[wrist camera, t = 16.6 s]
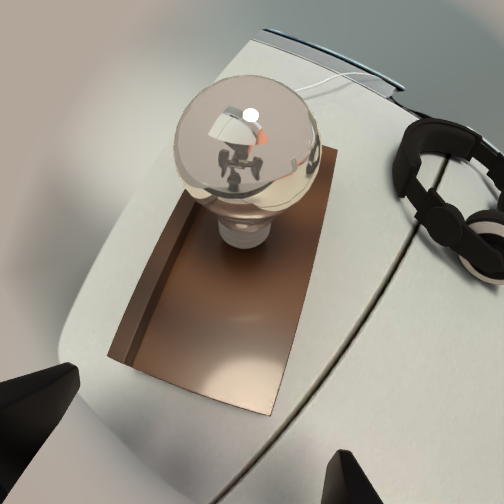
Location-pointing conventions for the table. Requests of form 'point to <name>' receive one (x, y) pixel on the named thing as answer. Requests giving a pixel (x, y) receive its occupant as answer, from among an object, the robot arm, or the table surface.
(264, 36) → the table surface
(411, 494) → the table surface
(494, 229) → the headphones
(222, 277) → the brown wooden tray
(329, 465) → the robot arm
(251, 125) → the light bulb
